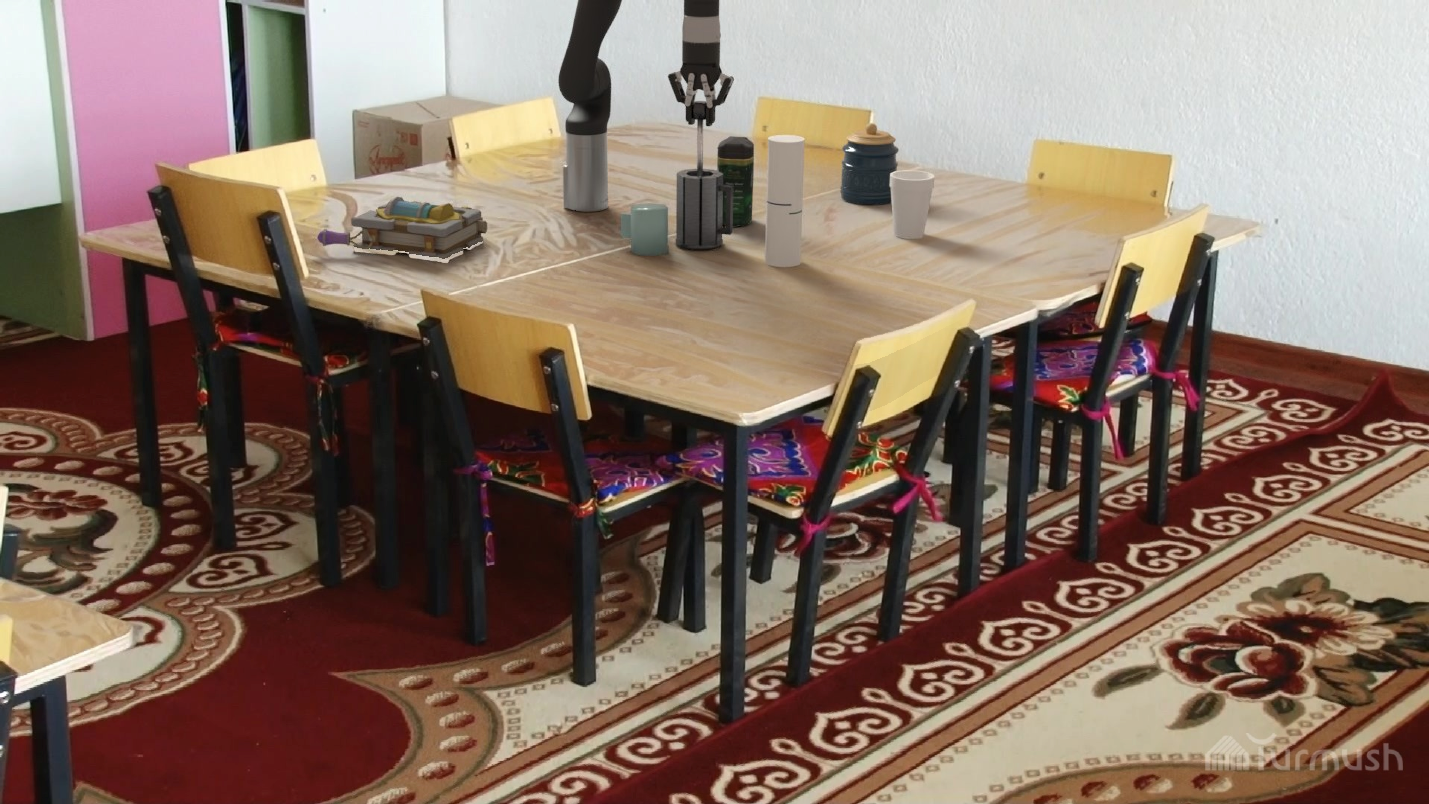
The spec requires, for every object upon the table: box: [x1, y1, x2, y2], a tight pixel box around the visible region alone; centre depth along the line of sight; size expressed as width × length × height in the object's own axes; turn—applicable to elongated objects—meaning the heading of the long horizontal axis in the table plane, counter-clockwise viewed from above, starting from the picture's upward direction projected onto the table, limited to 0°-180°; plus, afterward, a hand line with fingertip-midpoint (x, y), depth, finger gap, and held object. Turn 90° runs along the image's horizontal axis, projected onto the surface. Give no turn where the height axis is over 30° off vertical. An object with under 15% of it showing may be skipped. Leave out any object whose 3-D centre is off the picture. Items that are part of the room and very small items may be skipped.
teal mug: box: [620, 202, 669, 257], centre depth 322 cm, size 10×8×9 cm
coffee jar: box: [716, 135, 755, 228], centre depth 342 cm, size 10×8×19 cm
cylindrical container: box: [764, 134, 806, 268], centre depth 312 cm, size 7×7×25 cm
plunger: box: [693, 100, 707, 177], centre depth 320 cm, size 4×4×18 cm
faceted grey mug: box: [675, 168, 734, 252], centre depth 325 cm, size 12×10×15 cm
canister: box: [840, 122, 900, 206], centre depth 363 cm, size 13×13×18 cm
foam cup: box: [890, 169, 935, 240], centre depth 335 cm, size 10×9×13 cm
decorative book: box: [317, 196, 488, 259], centre depth 321 cm, size 25×26×11 cm
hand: (700, 124), depth 319 cm, fingers closed on plunger, 3 cm apart
